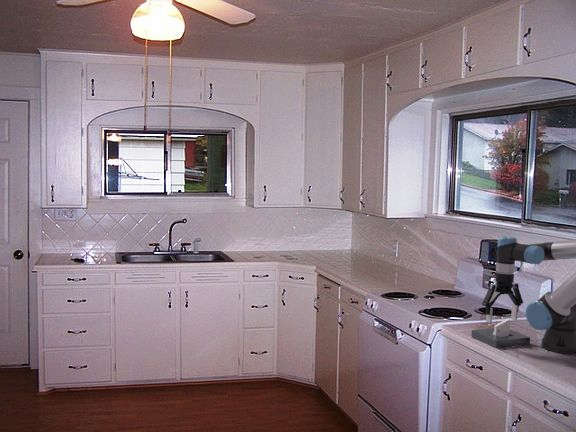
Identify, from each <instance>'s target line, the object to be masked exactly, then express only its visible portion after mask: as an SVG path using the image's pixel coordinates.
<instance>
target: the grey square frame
mask: <svg viewBox="0 0 576 432" xmlns="http://www.w3.org/2000/svg"><path fill="white" fill-rule="evenodd" d="M494 329H495V327H492V328H481V329H472V330H471V338H472V339H475V340H477V341H480V342H482V343H484V344H486V345H489V346H491V347H493V348H495V349H497V348H498V349H499V347H500V348H508V347H507V346H509V347H516V345H519V346H525V345H526V346H527V344H528V345H531V337H530V336H527V335H525V334H523V333H520V332H517V331H515V330H513V329H510V328H509V336H506V337H498V336H496V335H493V332H494Z"/></svg>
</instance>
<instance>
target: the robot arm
mask: <svg viewBox="0 0 576 432" xmlns="http://www.w3.org/2000/svg"><path fill="white" fill-rule="evenodd" d="M517 240H518V239H517V238H516V237H514V236H500V237H498V239H497V246H496V248H497V250H496V264H495V271H496V272H495V277H494V278H495V279H494V281H495V284H493V283H489V285H488V286H489V287H488V290H487V292H486V294H485V295H484V298H483V300H482V302H481V305H482V306H484V307H485V316H486V317H485V322H487V323H490V324H492V323H493V322H492V321H493V307H492V306H493V305H494V304H495V302H496V301H497V300H498V298H499V297H500V296H501V295H508V297H509V298H510V300H511V302H512V303H513V304H512V305H511V316H510V320H513V321H517V320H518V313H519V308H520V307H521V306H522V305H523V304H524V300H523V297H522V295H521V292H520V288H519V287H520V286H519V283H517V282H515V281H514V280H515V279H514V278H515V274H514V273H515V265H516V262H521V263H525V264H529V265H541V263H542V262H543V261H556V260H557V261H558V260H572V259H575V260H576V239H574V240H562V241H553V242H552V241H551V242H542V243H532V244H527V243H526V244H525V243H519V242H518V241H517ZM525 319H526V321H527V322H528V324H529V325H530V326H531V327H532V328H534V329H535V330H537V331H545V332H544V334H543V337H542V338H541V341H540V342H541V344H540V346H541V347H542V348H543V349H546V350H548V351H551V352H554V351H555V353H559V352H560V354H567V353H573V354H576V353H575V352H576V271H575V272H574V273H573V274H572V275H571V276H570V277H568V279H566V280H565V281H564V282H563V283H562V284H561V285H559V286H558V287H557V288H556V289H555V290H554V291H549V290H548V291H547V292H546V293H545V294H543V295H542V296H541V297H540V298H539V299H537V300H533V301H531V302H530V303H529V304H527V306H526V307H525Z"/></svg>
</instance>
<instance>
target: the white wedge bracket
mask: <svg viewBox="0 0 576 432" xmlns="http://www.w3.org/2000/svg"><path fill="white" fill-rule="evenodd" d="M510 325H511V318H506V319H504V320H502V321H500V322H499V323H497V324H495V325H494V328H495V329H494V332H493V335H496V336H498V337H506V336H509V329H510V327H511V326H510Z"/></svg>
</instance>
